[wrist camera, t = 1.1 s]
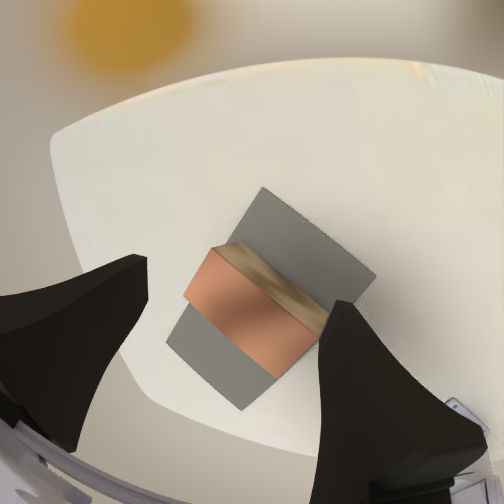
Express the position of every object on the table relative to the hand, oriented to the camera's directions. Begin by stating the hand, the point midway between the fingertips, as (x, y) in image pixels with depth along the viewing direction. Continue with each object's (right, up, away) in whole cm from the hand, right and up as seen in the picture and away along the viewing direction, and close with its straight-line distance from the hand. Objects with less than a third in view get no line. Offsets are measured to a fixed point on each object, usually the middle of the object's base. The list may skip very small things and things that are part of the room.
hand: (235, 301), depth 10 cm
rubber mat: (+1, -4, +16) cm, 17 cm away
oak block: (+2, -2, +15) cm, 15 cm away
